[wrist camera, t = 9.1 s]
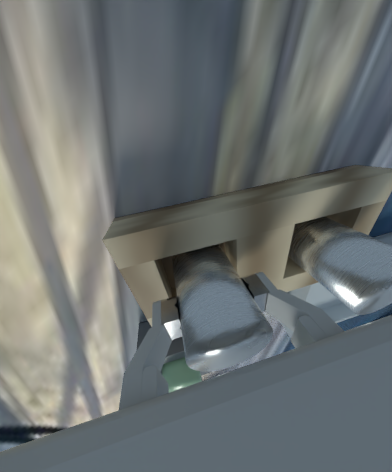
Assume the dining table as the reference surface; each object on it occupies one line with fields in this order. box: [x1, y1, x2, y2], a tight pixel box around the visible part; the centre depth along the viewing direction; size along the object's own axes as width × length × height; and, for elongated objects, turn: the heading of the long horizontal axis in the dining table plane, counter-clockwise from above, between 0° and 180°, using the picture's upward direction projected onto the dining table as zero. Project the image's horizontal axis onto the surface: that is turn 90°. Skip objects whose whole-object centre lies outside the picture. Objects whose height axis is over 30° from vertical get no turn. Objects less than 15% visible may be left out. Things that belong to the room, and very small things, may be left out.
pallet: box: [102, 165, 392, 327], centre depth 13 cm, size 20×10×3 cm, turn 99°
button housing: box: [137, 321, 212, 375], centre depth 18 cm, size 7×7×4 cm
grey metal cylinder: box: [172, 244, 273, 372], centre depth 10 cm, size 4×4×7 cm
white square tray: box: [280, 232, 392, 338], centre depth 21 cm, size 13×13×2 cm
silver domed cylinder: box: [288, 217, 392, 315], centre depth 12 cm, size 4×4×7 cm
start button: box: [162, 357, 202, 393], centre depth 16 cm, size 4×4×3 cm
